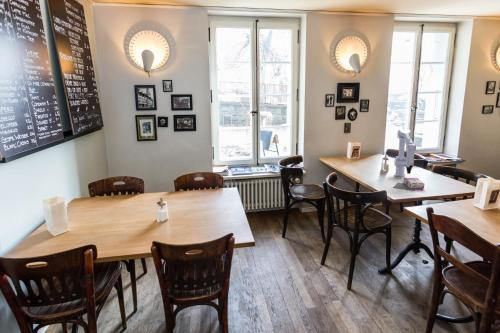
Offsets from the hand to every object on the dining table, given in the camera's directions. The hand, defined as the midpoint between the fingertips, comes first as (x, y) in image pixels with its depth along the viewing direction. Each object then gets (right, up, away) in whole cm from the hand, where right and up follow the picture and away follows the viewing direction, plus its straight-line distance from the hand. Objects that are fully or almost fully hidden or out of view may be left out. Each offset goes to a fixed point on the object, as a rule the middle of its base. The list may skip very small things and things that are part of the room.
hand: (408, 173), depth 271 cm
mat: (-5, -11, -4) cm, 13 cm away
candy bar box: (+3, -6, +3) cm, 7 cm away
